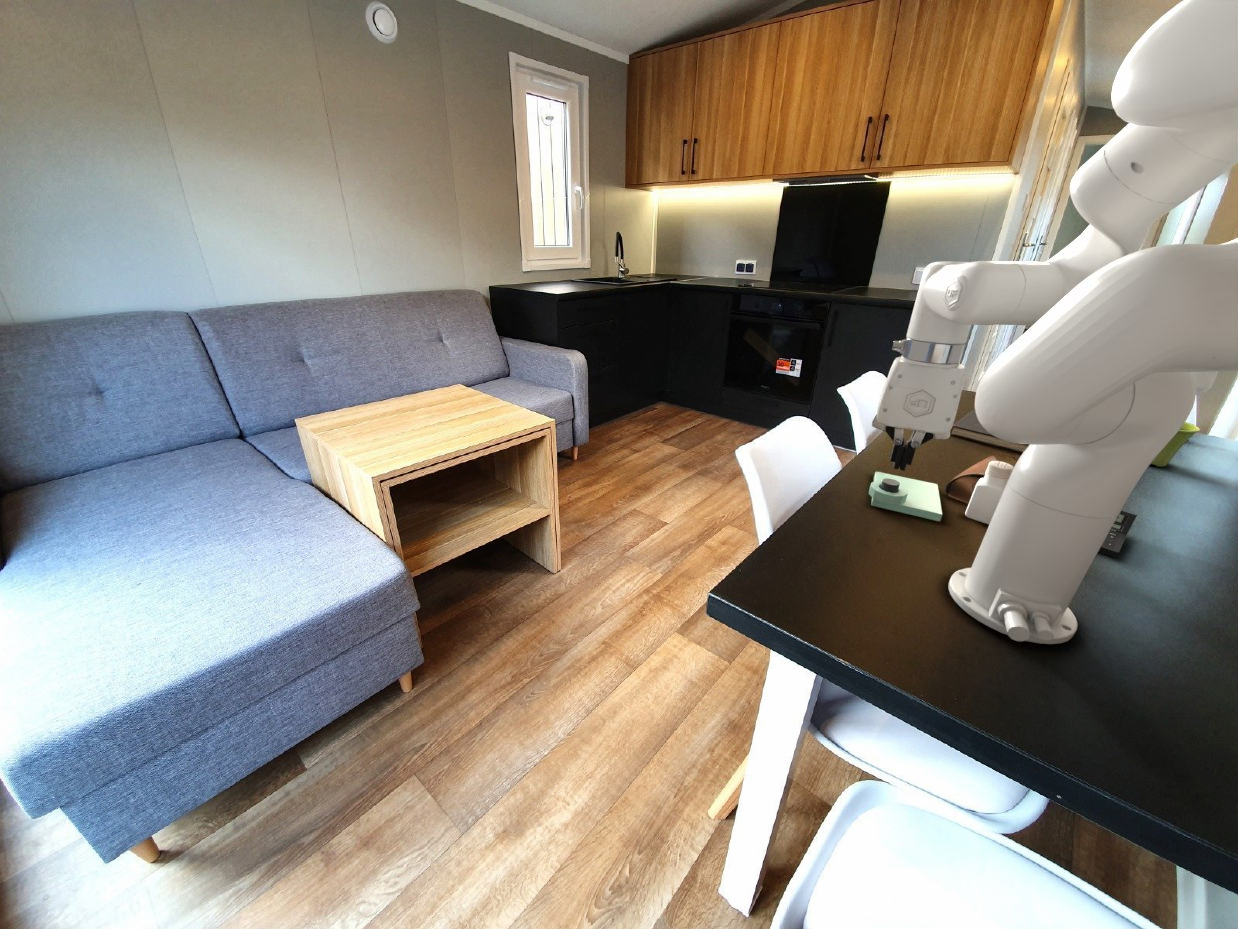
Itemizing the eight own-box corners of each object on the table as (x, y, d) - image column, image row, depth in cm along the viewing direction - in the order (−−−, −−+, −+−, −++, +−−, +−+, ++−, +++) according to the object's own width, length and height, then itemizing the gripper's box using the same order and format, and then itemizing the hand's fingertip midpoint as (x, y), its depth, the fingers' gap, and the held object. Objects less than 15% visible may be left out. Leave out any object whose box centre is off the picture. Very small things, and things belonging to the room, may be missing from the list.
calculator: (1036, 529, 77) (1043, 512, 75) (1053, 506, 83) (1061, 491, 82) (1115, 557, 70) (1125, 540, 69) (1128, 530, 77) (1137, 514, 76)
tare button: (897, 495, 80) (900, 486, 79) (879, 491, 81) (882, 483, 80) (897, 488, 82) (900, 480, 81) (880, 485, 83) (882, 476, 82)
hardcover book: (949, 434, 113) (952, 425, 112) (975, 413, 128) (978, 405, 127) (1034, 456, 103) (1038, 446, 102) (1051, 431, 118) (1055, 422, 117)
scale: (940, 524, 77) (946, 507, 76) (865, 506, 81) (870, 490, 80) (935, 491, 87) (940, 476, 86) (869, 476, 92) (873, 462, 90)
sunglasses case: (999, 513, 80) (988, 473, 80) (951, 516, 86) (941, 479, 85) (1032, 483, 90) (1021, 449, 90) (987, 488, 96) (977, 455, 96)
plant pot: (1187, 467, 101) (1210, 427, 97) (1162, 473, 98) (1185, 433, 94) (1131, 449, 109) (1150, 412, 105) (1106, 455, 105) (1125, 417, 102)
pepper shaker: (962, 517, 79) (983, 464, 75) (969, 508, 82) (989, 457, 78) (992, 527, 77) (1015, 473, 73) (997, 518, 79) (1020, 465, 75)
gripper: (874, 350, 71) (847, 465, 79) (997, 363, 65) (955, 486, 73) (875, 343, 78) (850, 450, 85) (988, 354, 71) (950, 468, 79)
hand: (898, 466), depth 79 cm, fingers closed
